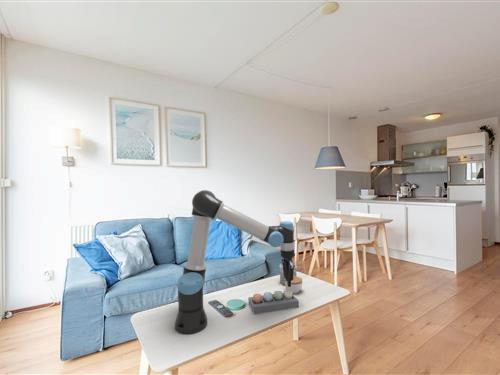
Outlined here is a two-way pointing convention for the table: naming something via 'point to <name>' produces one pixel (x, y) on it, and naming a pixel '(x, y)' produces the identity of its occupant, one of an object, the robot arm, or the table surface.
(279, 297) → the sage button
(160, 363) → the table surface
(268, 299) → the pale blue button
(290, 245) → the robot arm
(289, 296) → the cream button
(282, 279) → the can
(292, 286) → the lidded jar
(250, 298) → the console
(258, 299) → the terracotta button
